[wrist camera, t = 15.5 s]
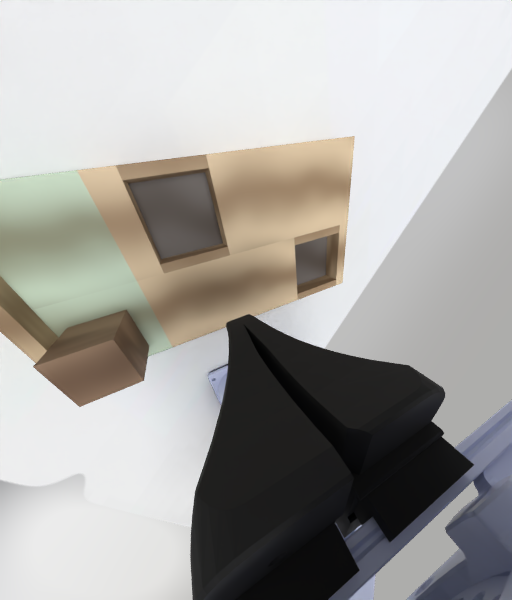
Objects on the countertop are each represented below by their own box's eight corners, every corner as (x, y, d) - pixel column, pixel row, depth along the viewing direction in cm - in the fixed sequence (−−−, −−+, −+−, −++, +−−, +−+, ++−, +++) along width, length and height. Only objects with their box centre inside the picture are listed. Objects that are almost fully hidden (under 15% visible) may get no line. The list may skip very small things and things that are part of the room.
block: (149, 346, 16) (143, 380, 13) (99, 364, 15) (79, 406, 12) (126, 309, 14) (113, 339, 11) (67, 327, 13) (32, 366, 10)
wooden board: (330, 277, 24) (352, 287, 21) (90, 365, 17) (74, 396, 14) (337, 143, 17) (370, 129, 14) (-65, 195, 10) (-159, 191, 7)
